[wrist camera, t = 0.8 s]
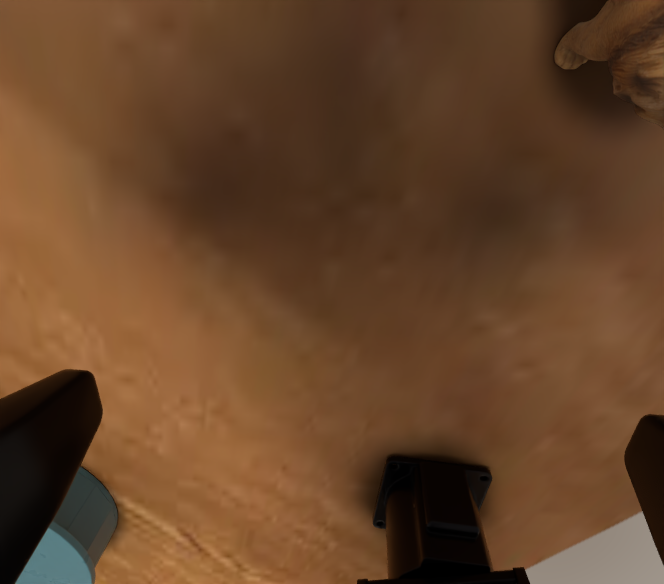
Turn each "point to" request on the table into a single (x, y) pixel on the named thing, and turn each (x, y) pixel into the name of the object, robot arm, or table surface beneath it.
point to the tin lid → (58, 560)
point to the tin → (88, 514)
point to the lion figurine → (624, 52)
